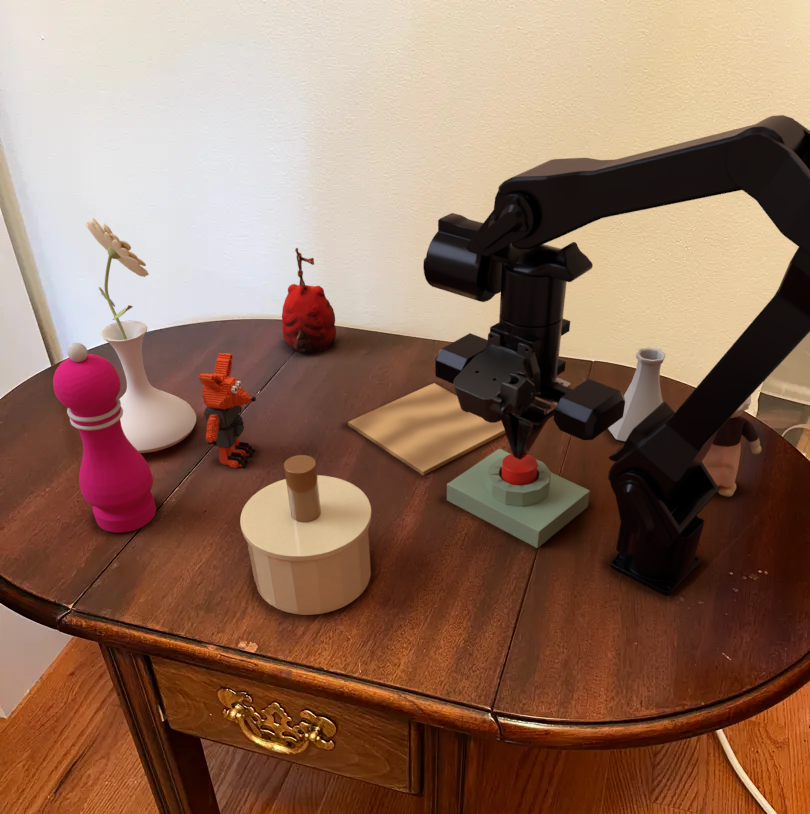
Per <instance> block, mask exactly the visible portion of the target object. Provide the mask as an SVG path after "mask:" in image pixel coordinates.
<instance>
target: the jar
mask: <svg viewBox="0 0 810 814" xmlns="http://www.w3.org/2000/svg"><path fill="white" fill-rule="evenodd" d="M369 527H370V526H369ZM369 527H368V529H367V531H366V533H365V534H364V535H363V537H362V538H361V539H360V540H359V541H358V542H356V543H355V544H354V545H352V546H351V547H349V548H348V549H346V550H344V551H342V552H340V553H338V554H335V555H332V556H329V557H325V558H322V559H316V560H309V561H289V560H282V559H277V558H273V557H270V556H267V555H265V554H263V553H261V552H259V551H257V550H256V549H254V548H253V547H252V546H251V545H250V544H249V543H248V542H247V541H246V544H247V547H248V549H247V550H248V554H249V558H250V564H251V570H252V575H253V580H254V583H255V584H256V588H257V589H256V590H257V591H258V593H259V595H260V596H261V598H262V599H263V600H264V601H265V602H266V603H267V604H268V605H270V606H272V607H274V608H275V609H277V610H279V611H282V612H286V613H289V614H294V615H301V616H302V615H303V616H313V615H321V614H327V613H330V612H334V611H337V610H339V609H342V608H344V607H346V606H347V605H349V604H350V603H352V602H354V601H355V600H356V599H358V598H359V597H360V596H361V595H362V594H363V593H364V591H365V590H366V588H367V587H368V585H369V583H370V580H371V575H372V568H371V567H372V563H371V562H372V559H371V544H370V531H369V530H370V529H369Z"/></svg>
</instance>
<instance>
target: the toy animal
mask: <svg viewBox="0 0 810 814" xmlns="http://www.w3.org/2000/svg"><path fill="white" fill-rule="evenodd" d="M233 358H234V356H233V354H232V353H227V352H218V355H217V358H216V359H215V366H214V371H213V373H208V372H204V373H201V374H200V373H199V374H198V379H199V380H200V382H201V384H202V400H203V404H204V405H205V406H206V408H205V409H204V412H203V414H204V418H205V423H206V424H207V425H206V432H205V440H206V442H207V444H208V445H212V446H213V447H217V449H218V459H219V463H220V464H221V465H227V466H229V467H230V468H234V469H237V468H239V467H240V468H245V467H246V466H247V464H249V459H248V458H246V457H253V456H254V454H255V453H256V448H253V446H252V445H250V443H249V442H246V441H240V437H241V435H242V434H243V432H244V431H245V430H244V429H245V425H244V424H245V423H244V420H243V417H242V416H241V415H240V414H242V411H243V406H244V405H248V404H249V403H250V404H252V403H253V402H254V403H255V402H256V401H257V397H256V396H251V393H249V392H248V391H246V390H245V388H244V387H243V386H242V381H241V380H239V379H238V378H236V377H233V376H231V374H232V368H233Z"/></svg>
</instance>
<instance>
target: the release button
mask: <svg viewBox="0 0 810 814" xmlns="http://www.w3.org/2000/svg"><path fill="white" fill-rule="evenodd" d="M536 460H537V458H535V457H534V456H533V455H530V454H528V453H527V455H526V456H525V457H524V458H522V459H521V460H520V459H518V458H515V457H514V456H513V453H510V455H507V456H506V457H505V458H504V459H503V461H502V474H501V476H502V479H503V480H504V481H505V482H507V483H509V484H511V485H519V486H523V485H528V484H532V483H533V482H534V481H535V479H536V474H537V461H536Z"/></svg>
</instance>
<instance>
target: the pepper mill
mask: <svg viewBox="0 0 810 814" xmlns="http://www.w3.org/2000/svg"><path fill="white" fill-rule="evenodd" d="M66 353H67V356H68V358H66V359H65V360H63V361H61V362H60V364H58V366H57V368H56V369H55V371H54V374H53V377H52V386H53V387H52V388H53V392H54V395H55V396H56V398H57V400H58V401H59V402H60V403H61V404H62V405H63V406H64V407H65V408H67V410H66V414H67V415H68V418H69V423H70V425H71V426H72V427H74V428H75V429H77V430H78V433H79V434H80V438H81V441H82V446H83V449H82V450H83V452H82V459H81V464H80V466H79V467H80V468H79V473H78V475H79V476H78V483H79V488H80V492H81V495H82V497H83V499H84V500H85V502H87V503H88V504H89V505H91V506H92V513H93V516H94V519H95V523H96V524H97V526H98V527H100V528H101V529H102V530H103V531H106V532H109V533H115V534H116V533H117V534H118V533H119V534H121V533H129V532H133V531H137V530H139V529H140V528H142V527H144V526H146V525H147V524H149V523H150V522H151V521H152V520H153V519H154V517H155V515H156V512H157V505H156V501H155V498H154V494H153V493H152V491H151V490H152V488H153V483H154V477H153V473H152V470H151V468H150V466H149V464H148V462H147V461H146V459H145V458H144V456H143V455H142V453H139V452H138V451H137V450H136V449H135V447H134V446H133V445H132V444H131V443H130V442H129V440H128V439H127V438H126V436H125V434H124V432H123V429H122V426H121V421H120V418H121V417H122V415H123V409H122V407H121V402H120V400H119V399H120V398H119V394H120V392H121V386H122V385H121V377H120V375H119V373H118V371H117V370H116V368H115V366H114V365H113V363H112V362H111V361H109V360H108V359H106V358H104V357H103V356H100V355H97V354H93V353H89V351H88V348H87V346H85V345H84V344H83V343H81V342H74V343H71V344H70V345H68V347H67V351H66Z"/></svg>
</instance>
